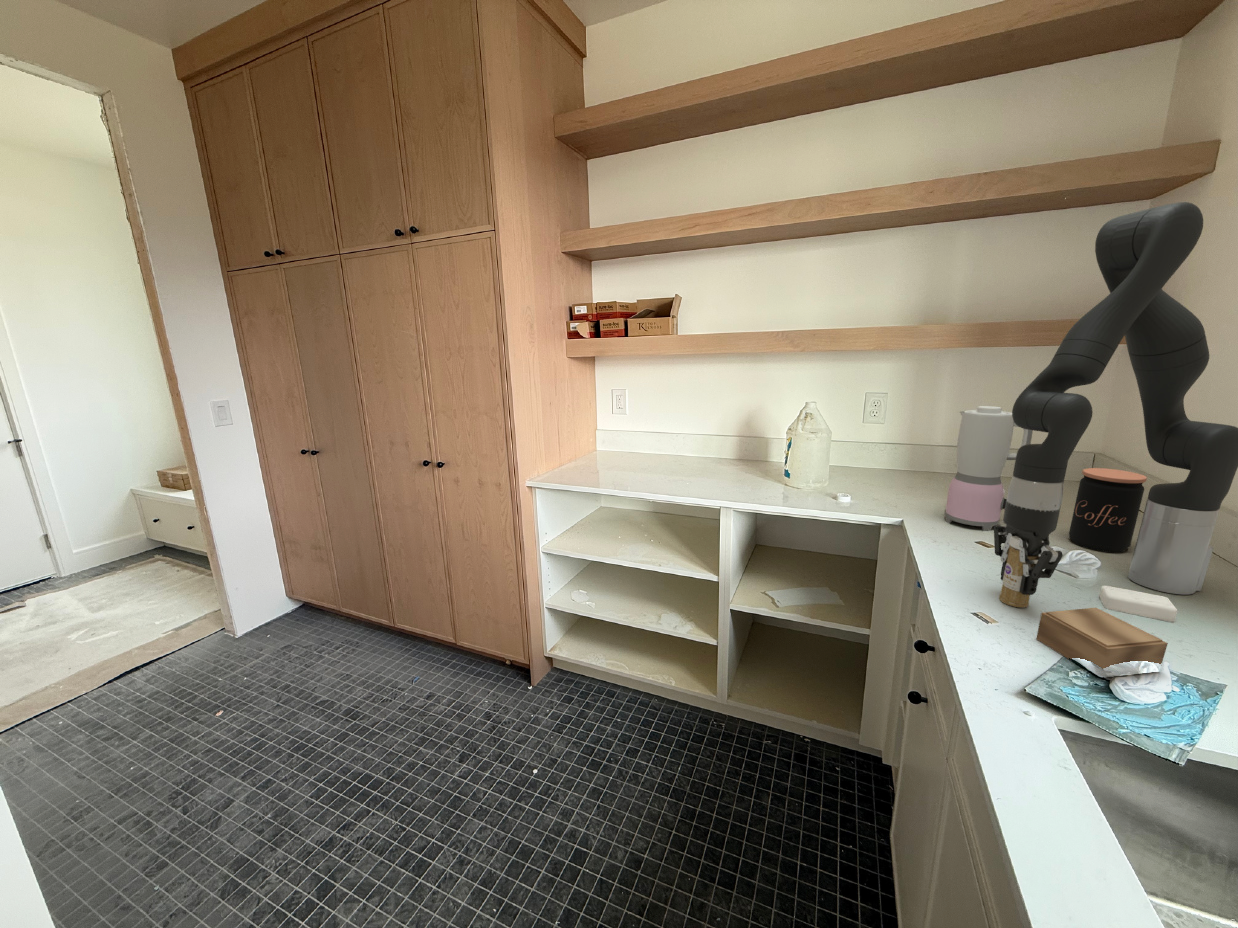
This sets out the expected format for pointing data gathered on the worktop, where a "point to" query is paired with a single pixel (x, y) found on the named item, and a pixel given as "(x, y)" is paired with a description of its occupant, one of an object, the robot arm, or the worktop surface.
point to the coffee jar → (1106, 509)
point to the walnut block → (1098, 637)
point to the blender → (981, 466)
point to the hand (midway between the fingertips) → (1016, 586)
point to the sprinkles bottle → (1014, 577)
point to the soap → (1138, 603)
